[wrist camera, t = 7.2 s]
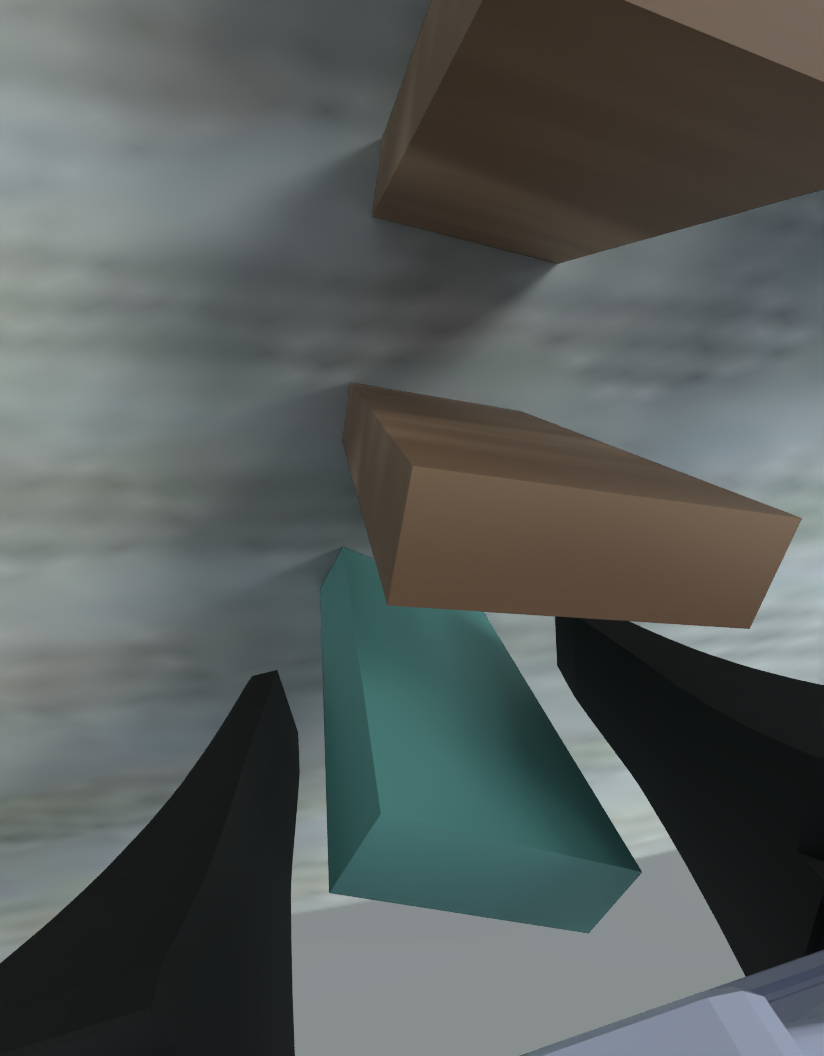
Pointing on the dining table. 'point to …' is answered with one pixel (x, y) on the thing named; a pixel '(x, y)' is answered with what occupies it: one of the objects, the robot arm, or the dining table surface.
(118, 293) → the dining table surface
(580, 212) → the domino
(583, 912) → the domino
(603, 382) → the dining table surface
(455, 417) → the domino
